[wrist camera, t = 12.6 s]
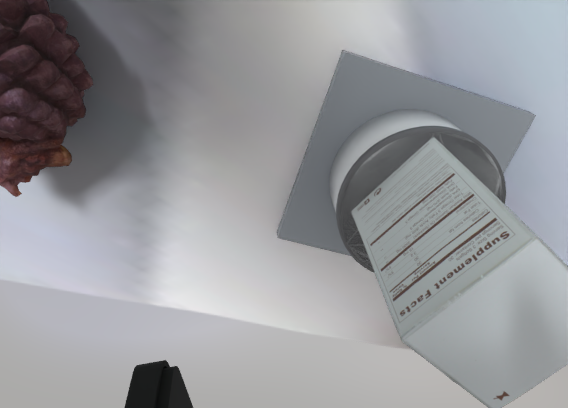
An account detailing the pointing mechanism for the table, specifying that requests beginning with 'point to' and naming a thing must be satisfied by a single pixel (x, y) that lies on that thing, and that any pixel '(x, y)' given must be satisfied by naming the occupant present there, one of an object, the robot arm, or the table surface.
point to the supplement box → (466, 277)
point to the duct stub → (389, 146)
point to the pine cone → (36, 90)
